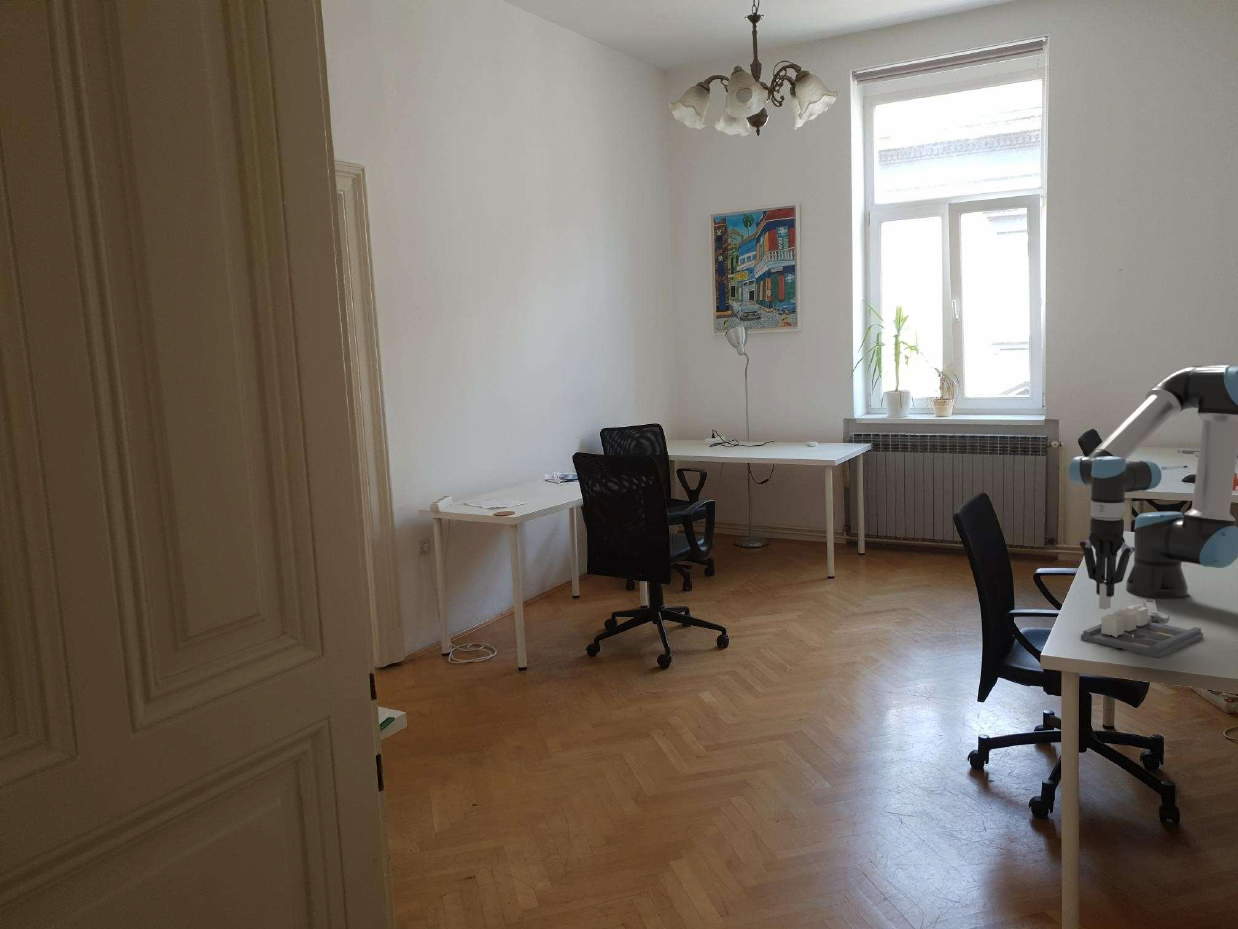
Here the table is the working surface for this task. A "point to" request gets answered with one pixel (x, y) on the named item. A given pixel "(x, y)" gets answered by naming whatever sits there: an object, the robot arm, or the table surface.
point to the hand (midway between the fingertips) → (1104, 607)
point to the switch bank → (1146, 638)
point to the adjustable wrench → (1154, 612)
